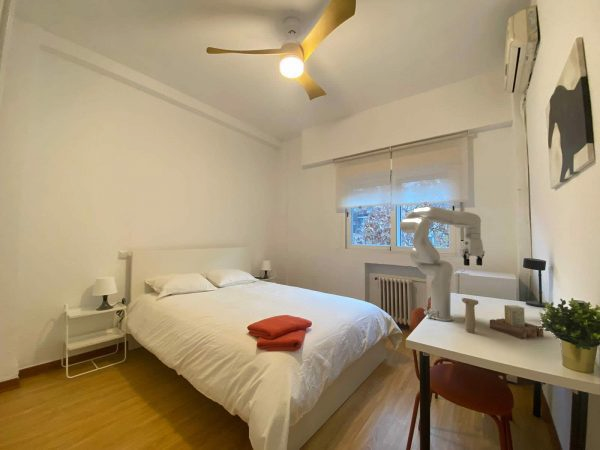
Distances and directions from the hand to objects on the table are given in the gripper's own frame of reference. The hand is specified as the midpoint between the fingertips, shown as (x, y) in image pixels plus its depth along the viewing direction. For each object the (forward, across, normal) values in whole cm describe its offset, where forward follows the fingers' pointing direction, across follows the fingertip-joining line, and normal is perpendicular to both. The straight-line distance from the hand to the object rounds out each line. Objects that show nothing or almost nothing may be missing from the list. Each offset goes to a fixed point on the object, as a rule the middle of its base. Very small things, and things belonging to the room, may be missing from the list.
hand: (473, 265), depth 147 cm
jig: (+28, -7, -27) cm, 40 cm away
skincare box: (+28, -7, -27) cm, 40 cm away
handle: (+28, -29, -22) cm, 46 cm away
